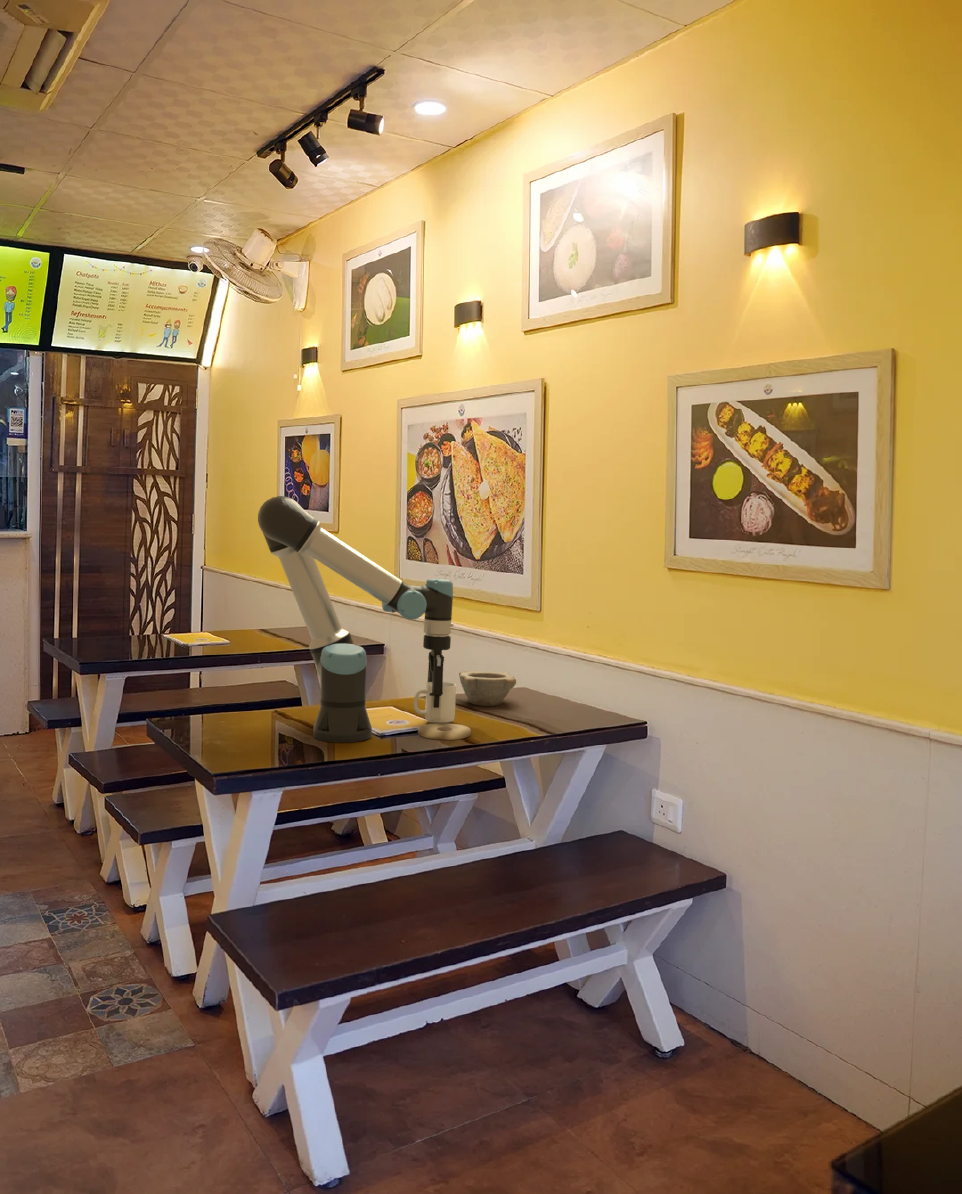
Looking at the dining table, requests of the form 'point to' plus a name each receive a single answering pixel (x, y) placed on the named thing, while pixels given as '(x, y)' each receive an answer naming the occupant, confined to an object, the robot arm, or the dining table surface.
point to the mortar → (486, 686)
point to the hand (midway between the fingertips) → (433, 715)
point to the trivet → (444, 731)
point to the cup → (446, 702)
